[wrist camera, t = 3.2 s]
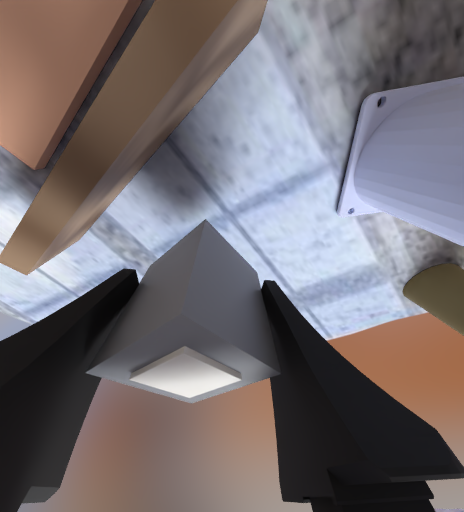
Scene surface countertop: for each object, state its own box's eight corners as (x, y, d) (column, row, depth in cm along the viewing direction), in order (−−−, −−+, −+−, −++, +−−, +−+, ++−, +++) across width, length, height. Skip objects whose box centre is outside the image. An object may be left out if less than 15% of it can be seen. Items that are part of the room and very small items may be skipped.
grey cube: (205, 219, 9) (179, 321, 4) (256, 272, 11) (282, 380, 6) (150, 266, 11) (80, 379, 6) (204, 303, 13) (191, 408, 8)
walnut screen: (240, -9, 8) (256, -166, 4) (257, 32, 9) (287, -64, 5) (60, 227, 15) (-4, 260, 11) (79, 239, 15) (26, 275, 11)
